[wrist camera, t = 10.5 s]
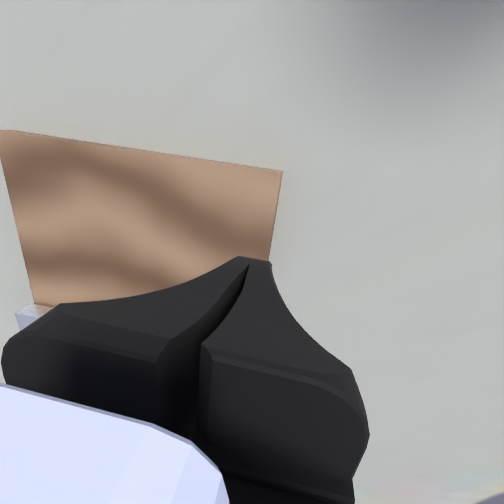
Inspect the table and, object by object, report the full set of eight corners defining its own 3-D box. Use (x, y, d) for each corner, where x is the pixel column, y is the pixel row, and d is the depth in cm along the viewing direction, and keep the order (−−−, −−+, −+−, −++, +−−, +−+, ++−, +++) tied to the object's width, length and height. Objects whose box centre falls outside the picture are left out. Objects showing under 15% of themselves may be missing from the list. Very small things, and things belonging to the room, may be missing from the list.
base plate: (247, 389, 27) (236, 436, 22) (55, 342, 29) (13, 377, 25) (282, 171, 18) (275, 182, 14) (10, 130, 21) (-64, 129, 17)
